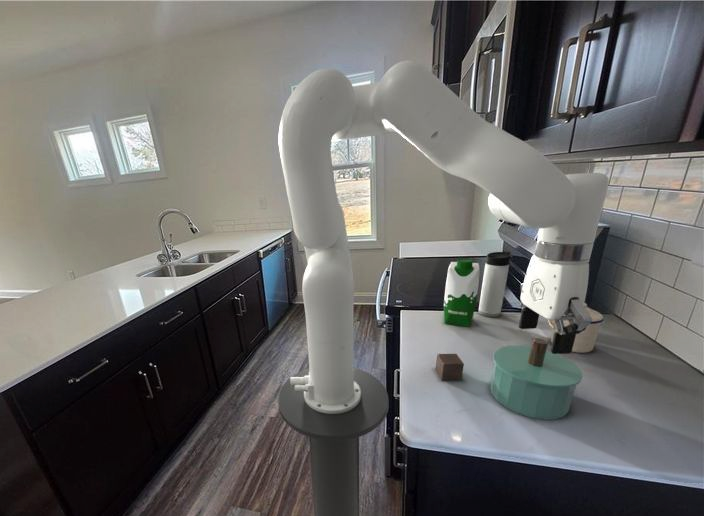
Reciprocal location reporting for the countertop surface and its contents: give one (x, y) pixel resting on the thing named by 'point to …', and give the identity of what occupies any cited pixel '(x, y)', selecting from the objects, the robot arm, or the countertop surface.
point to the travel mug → (494, 283)
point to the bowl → (530, 396)
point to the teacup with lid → (583, 332)
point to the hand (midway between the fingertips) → (542, 339)
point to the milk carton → (461, 292)
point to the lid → (538, 365)
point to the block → (449, 367)
